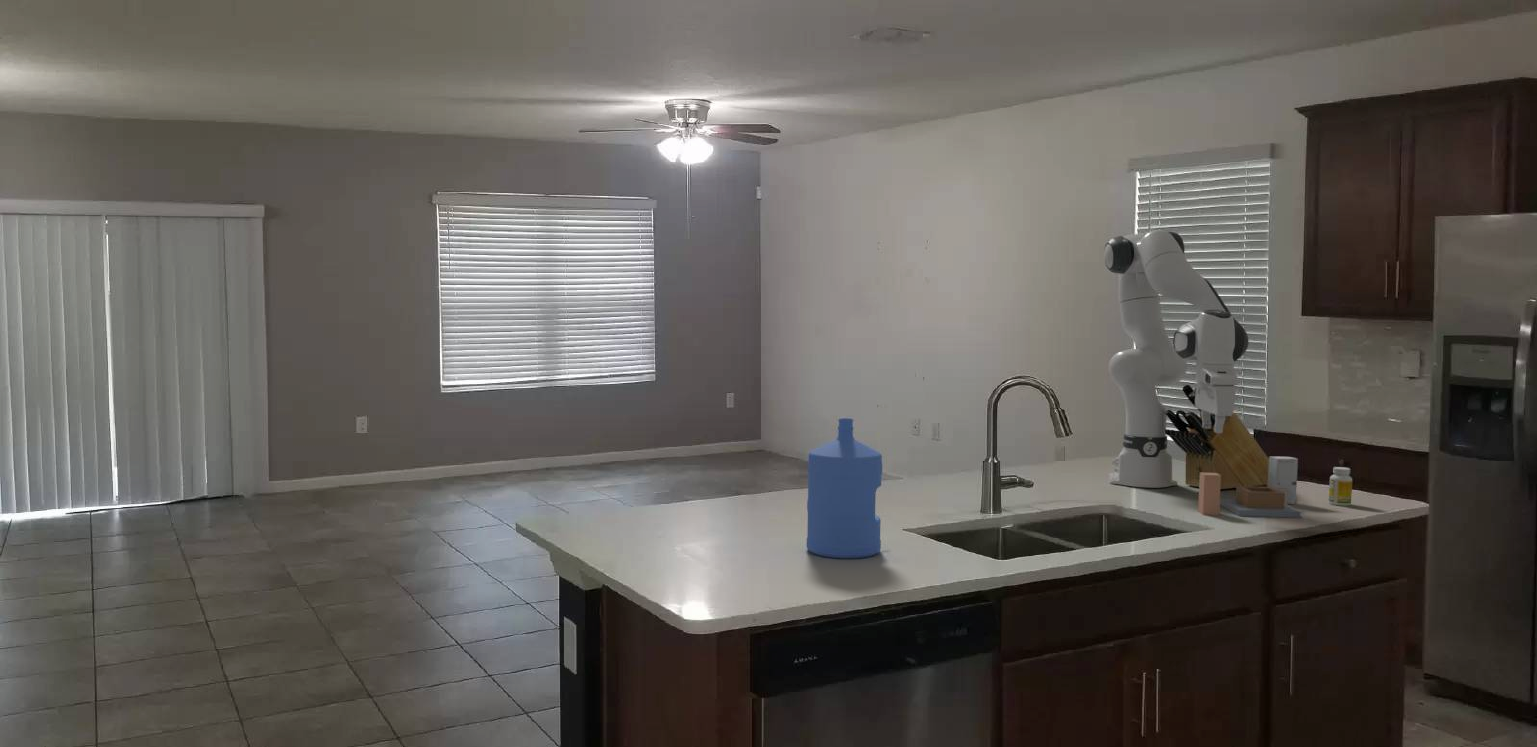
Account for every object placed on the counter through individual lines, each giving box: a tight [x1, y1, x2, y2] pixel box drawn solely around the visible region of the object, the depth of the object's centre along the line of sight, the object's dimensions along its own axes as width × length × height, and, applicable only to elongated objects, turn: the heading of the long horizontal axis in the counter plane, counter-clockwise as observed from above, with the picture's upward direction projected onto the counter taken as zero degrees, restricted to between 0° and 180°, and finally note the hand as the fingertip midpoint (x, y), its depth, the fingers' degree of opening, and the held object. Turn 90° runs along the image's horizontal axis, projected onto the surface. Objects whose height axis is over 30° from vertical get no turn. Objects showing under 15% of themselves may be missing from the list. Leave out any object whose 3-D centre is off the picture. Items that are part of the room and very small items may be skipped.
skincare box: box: [1267, 455, 1299, 505], centre depth 312 cm, size 6×4×12 cm
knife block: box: [1165, 384, 1269, 490], centre depth 335 cm, size 11×35×31 cm, turn 115°
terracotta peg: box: [1197, 472, 1221, 516], centre depth 296 cm, size 4×4×10 cm
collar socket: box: [1220, 486, 1302, 519], centre depth 301 cm, size 15×15×6 cm
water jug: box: [806, 417, 883, 560], centre depth 248 cm, size 16×16×28 cm
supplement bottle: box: [1328, 466, 1353, 507], centre depth 312 cm, size 5×5×10 cm
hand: (1212, 430), depth 295 cm, fingers open, 8 cm apart
